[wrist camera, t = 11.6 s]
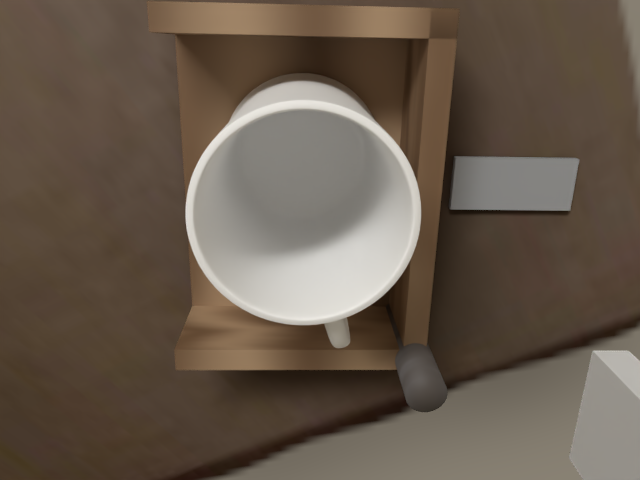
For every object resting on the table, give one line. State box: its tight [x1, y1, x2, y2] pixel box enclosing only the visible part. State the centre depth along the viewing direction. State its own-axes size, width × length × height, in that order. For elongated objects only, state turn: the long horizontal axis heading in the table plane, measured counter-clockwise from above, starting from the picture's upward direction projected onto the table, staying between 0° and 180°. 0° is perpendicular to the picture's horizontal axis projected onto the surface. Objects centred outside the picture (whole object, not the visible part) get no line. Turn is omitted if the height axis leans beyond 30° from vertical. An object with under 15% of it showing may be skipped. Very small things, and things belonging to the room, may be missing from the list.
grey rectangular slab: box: [449, 156, 579, 211], centre depth 31 cm, size 7×3×1 cm, turn 89°
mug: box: [186, 73, 421, 348], centre depth 25 cm, size 12×8×12 cm
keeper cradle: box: [147, 1, 460, 412], centre depth 27 cm, size 13×18×9 cm
